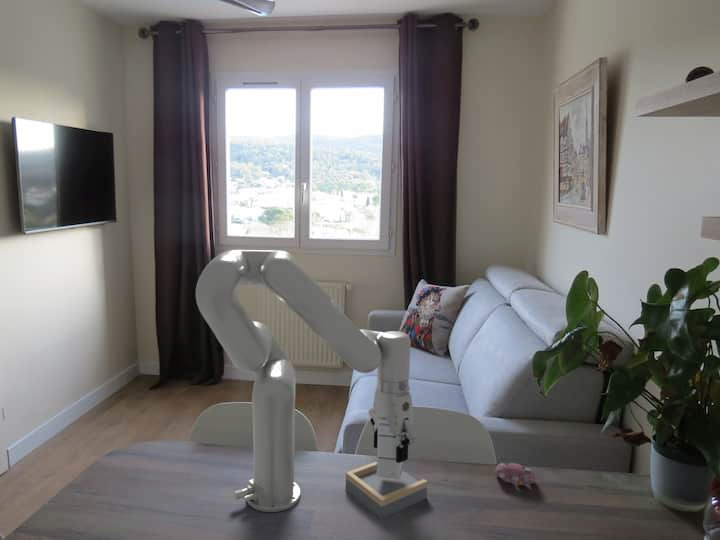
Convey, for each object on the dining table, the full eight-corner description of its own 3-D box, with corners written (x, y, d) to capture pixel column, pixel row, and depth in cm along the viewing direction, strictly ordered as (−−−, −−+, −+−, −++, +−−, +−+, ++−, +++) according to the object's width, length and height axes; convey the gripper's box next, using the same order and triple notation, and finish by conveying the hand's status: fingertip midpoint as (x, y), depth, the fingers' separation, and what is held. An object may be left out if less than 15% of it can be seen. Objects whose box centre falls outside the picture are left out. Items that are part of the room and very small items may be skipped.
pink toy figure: (493, 486, 134) (494, 469, 130) (495, 470, 138) (496, 454, 134) (533, 494, 131) (535, 477, 127) (534, 478, 134) (536, 461, 130)
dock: (381, 518, 117) (382, 500, 116) (345, 489, 128) (345, 472, 127) (426, 498, 125) (427, 481, 124) (389, 472, 136) (389, 456, 135)
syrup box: (400, 480, 123) (402, 422, 120) (375, 476, 124) (377, 419, 122) (403, 467, 128) (405, 412, 126) (379, 464, 129) (381, 409, 127)
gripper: (430, 392, 118) (426, 464, 121) (382, 370, 132) (379, 435, 134) (405, 399, 114) (402, 474, 116) (358, 376, 127) (356, 443, 130)
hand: (390, 453), depth 125 cm, fingers closed on syrup box, 7 cm apart
